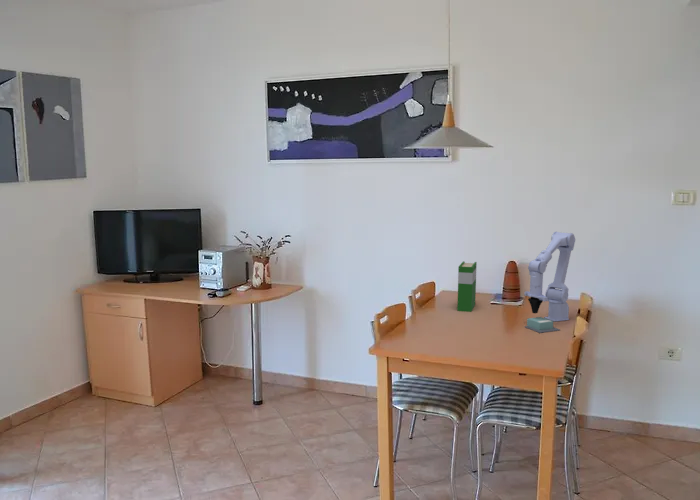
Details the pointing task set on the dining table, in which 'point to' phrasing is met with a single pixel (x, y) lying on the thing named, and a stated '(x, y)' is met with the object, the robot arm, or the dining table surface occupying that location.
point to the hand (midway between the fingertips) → (534, 312)
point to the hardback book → (466, 286)
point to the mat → (542, 330)
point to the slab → (540, 323)
